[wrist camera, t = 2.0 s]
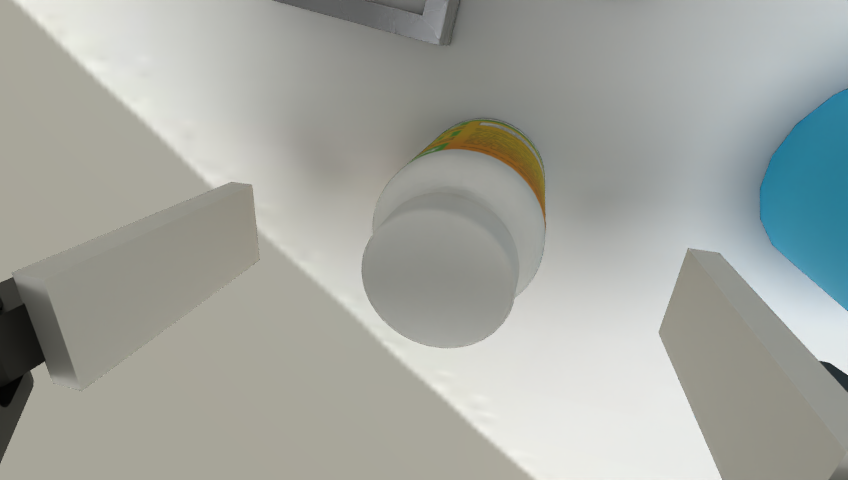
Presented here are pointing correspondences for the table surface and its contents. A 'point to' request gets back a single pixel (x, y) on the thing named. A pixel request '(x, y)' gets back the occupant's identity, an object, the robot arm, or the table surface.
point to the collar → (392, 17)
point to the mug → (812, 197)
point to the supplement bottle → (458, 235)
